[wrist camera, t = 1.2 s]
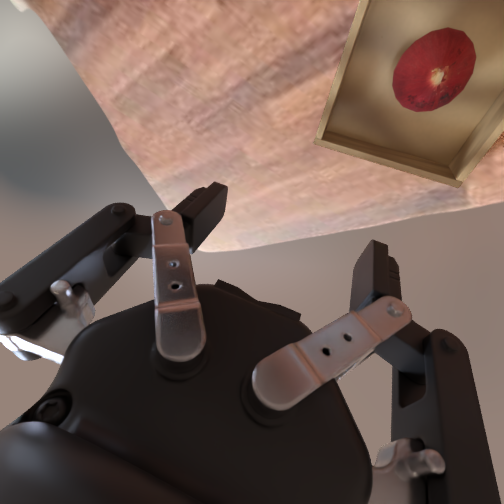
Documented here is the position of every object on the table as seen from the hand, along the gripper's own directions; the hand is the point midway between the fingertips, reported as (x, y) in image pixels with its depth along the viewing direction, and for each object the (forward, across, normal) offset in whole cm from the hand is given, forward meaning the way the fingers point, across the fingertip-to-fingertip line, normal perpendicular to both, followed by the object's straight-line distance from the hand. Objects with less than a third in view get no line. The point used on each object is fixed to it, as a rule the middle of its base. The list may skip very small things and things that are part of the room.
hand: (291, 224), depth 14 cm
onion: (+23, -6, -6) cm, 24 cm away
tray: (+23, -6, -6) cm, 24 cm away
